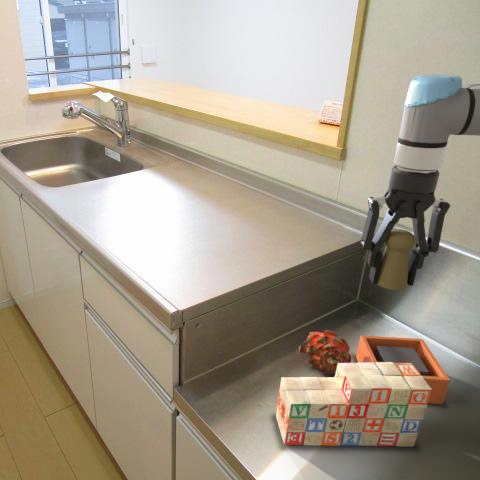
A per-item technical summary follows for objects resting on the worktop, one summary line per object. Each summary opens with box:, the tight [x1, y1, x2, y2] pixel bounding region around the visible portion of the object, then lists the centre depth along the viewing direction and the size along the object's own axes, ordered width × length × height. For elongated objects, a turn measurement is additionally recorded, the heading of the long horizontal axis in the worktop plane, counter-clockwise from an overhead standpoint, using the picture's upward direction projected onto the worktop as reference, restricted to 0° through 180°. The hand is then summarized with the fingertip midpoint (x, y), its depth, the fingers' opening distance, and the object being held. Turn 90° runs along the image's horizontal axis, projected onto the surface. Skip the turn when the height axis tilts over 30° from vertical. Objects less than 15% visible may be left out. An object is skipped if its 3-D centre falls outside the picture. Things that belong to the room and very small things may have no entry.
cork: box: [376, 228, 415, 291], centre depth 87 cm, size 6×6×11 cm
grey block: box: [375, 346, 429, 376], centre depth 87 cm, size 7×7×4 cm
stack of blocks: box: [275, 362, 431, 448], centre depth 74 cm, size 21×6×12 cm, turn 89°
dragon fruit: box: [298, 329, 352, 375], centre depth 90 cm, size 8×8×12 cm
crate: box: [355, 335, 451, 405], centre depth 87 cm, size 12×12×6 cm
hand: (390, 281), depth 89 cm, fingers closed on cork, 6 cm apart
